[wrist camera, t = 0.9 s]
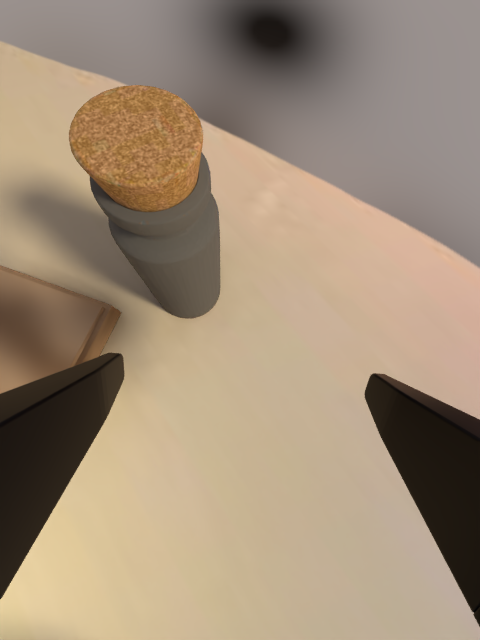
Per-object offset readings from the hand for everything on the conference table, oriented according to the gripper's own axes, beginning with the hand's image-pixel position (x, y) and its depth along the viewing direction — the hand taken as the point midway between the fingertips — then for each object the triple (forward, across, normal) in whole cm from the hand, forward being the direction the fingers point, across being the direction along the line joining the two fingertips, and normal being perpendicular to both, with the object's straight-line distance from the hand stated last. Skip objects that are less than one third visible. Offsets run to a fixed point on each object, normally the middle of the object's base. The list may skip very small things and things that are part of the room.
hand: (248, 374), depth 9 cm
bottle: (+15, +5, +1) cm, 16 cm away
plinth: (+12, +16, +6) cm, 21 cm away
